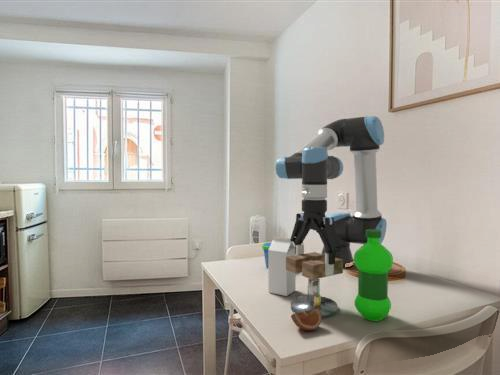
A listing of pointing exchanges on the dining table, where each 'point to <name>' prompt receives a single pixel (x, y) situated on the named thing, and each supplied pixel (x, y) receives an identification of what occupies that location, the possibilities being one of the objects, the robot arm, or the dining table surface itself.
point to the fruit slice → (307, 319)
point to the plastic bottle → (373, 277)
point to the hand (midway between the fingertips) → (313, 269)
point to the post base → (304, 306)
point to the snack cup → (266, 252)
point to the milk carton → (280, 267)
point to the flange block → (311, 265)
